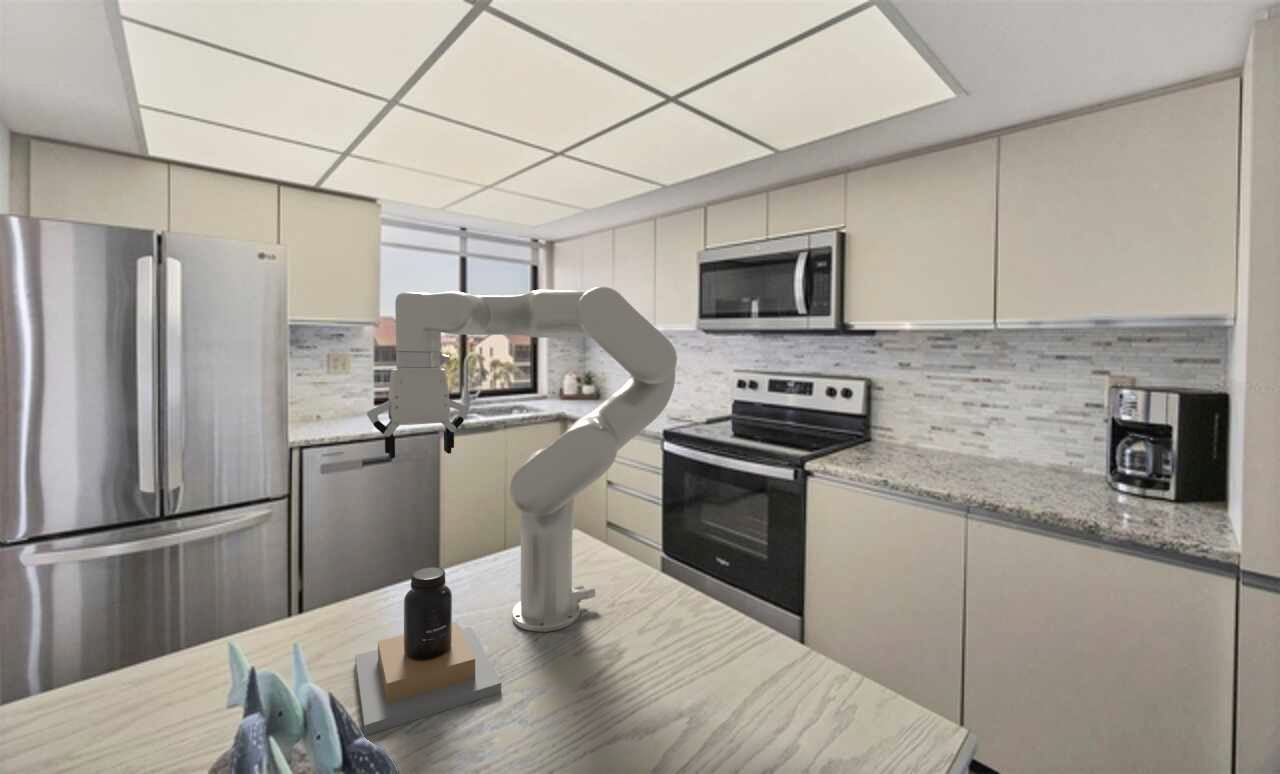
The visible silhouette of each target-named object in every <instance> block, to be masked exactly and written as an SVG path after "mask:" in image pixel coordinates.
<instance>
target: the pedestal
mask: <svg viewBox="0 0 1280 774" xmlns="http://www.w3.org/2000/svg"><path fill="white" fill-rule="evenodd" d="M460 627H461V626H459V624H458V622H457V621H456V622H452V641H451V646H450V648H449V649H448V650H447V651H446V652H445V653H444V654H442V655H441V656H439V657H436V658H433V659H428V660H415V659H411V658H409V657H408V656H407V655H406V654H405V652H404V634H401V635H397V636H394V637H389V638H385V639H382V640H377V649H374V650H369V651H366V652H362V653H358V654H355V655H354V656H355V657H354V659H355V660H354V661H355V671H356V679H357V684H358V685H357V686H358V693H359V700H360V709H361V717H362V722H363V723H362V724H363V733H364V736H365V737H367V736H369V735H373V734H376V733H378V732H382V731H385V730H388V729H391V728H394V727H397V726H401V725H404V724H407V723H410V722H413V721H416V720H419V719H422V718H425V717H429V716H431V715H436V714H438V713H440V712H444V711H447V710H450V709H454V708H458V707H459V706H463V705H466V704H469V703H472V702H475V701H479V700H482V699H485V698H488V697H491V696H495V695H497V694H501V693H502V682H501V680H500V678H499V676H498V674H497V673H496V670H495V669H494V667H493V665H492V663H491V661H490V659H489V657H488V655H487V654H486V652H485V650H484V649H483V646H482V644H481V643H480V641H479V639H478V638H477V637H478V636H477V635H476V633H475V631H474V629H473V628H472V626H471V625H470V626H467V627H463V628H460Z"/></svg>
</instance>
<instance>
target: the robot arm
mask: <svg viewBox="0 0 1280 774" xmlns="http://www.w3.org/2000/svg"><path fill="white" fill-rule="evenodd" d="M394 303H395V350H396V351H395V355H396V356H395V357H396V358H395V359H396V368H392V369H391V371H390V375H389V376H390V377H389V383H388V384H389V385H388V400H386V401H385V402H383V403H382V404H380V405H377V406H375V407H374V408H372V409H370V410H368V411H367V412H366V415H367V417H368V419H369V420H370V422H371V424H372V425H373V427H374V428H375V429H376V430H378V431H379V432H380V433H381V434H382V435H384V453H385V454H388V457H389V458H390V459H391V460H392V459H396V437H395V435H394V432H395V431H396V430H397V428H398V427H399V426H412V425H413V426H414V425H428V424H442V425H443V426H444V428H445V430H444V431H443V450H444V452H445V454H446V453H447V454H450V455H451V454H452V449H454V448H455V433H456V431H457V429H459V427H460V426H461V425H462V424H463V423H464V421H465V418H466V417H467V414H468V413H469V410H470V409H469V407H468V406H466V405H463V404H461V403H459V402H457V401H454V400H452V399H450V395H449V394H450V393H449V392H450V391H449V384H448V378H447V374H446V369H444V368H442V367H443V365H444V364H445V363H450V355H449V354H448V355H446V354H443V352H442V333H444V334H449V335H459V336H460V335H461V336H462V335H469V336H470V335H472V336H475V335H477V336H479V335H480V336H485V335H487V336H494V335H495V336H499V335H500V336H501V335H503V336H506V335H507V336H525V337H530V338H542V339H544V338H546V339H547V338H550V339H551V338H556V339H557V338H565V339H567V338H570V339H571V338H575V339H576V338H578V339H579V338H581V339H582V338H585V339H586V338H587V339H588V338H589V339H593V341H594V342H595V343H596V344H597V345H598V346H599V347H601V349H603V350H604V351H605V352H606V354H608V355H609V356H610V358H611V357H612V359H614V360H615V362H617V363H618V364H619V365H620V366H621V367H622V368H623V369H624V370H625V371H627V372H628V373H629V374H630V376H629V377H628V380H627V381H626V382H625V384H624V385H623V386H621V387H620V388H619V389H618V390H616V391H615V392H614V393H613V394H612V395H610V397H608V398H607V399H606V400H605V401H604V402H602V403H600V405H597V407H596V408H595V409H592V410H591V411H590V412H589V413H587V414H586V415H584V416H583V417H580V418H579V419H577V420H576V421H575V422H574V423H572V424H571V426H570V427H569V428H568V429H567V430H566V431H565V432H564V433H562V434H561V435H560V436H559V437H557V438H556V439H555V440H554V441H553V442H551V443H549V444H548V445H547V446H546V447H545V448H541V449H539V450H537V451H535V452H533V453H532V454H531V455H529V456H528V457H527V458H526V459H525V461H523V462H522V464H521V465H520V466H519V467H518V468H517V469H516V471H515V472H514V474H513V476H512V478H511V481H510V484H509V485H510V486H509V495H510V499H511V502H512V504H513V505H514V507H515V508H516V509H517V510H518V511H519V512H521V514H520V601H518V603H516V604H515V605H514V606H513V608H512V611H511V619H512V622H513V623H514V624H515V625H516V626H517V627H519V628H521V629H522V630H527V631H530V632H539V633H541V632H545V633H546V632H553V631H558V630H561V629H564V628H567V627H568V626H571V625H573V624H574V623H575V622H576V621H577V620H578V619H579V617H580V611H581V609H580V604H579V603H581V602H582V601H584V600H588V599H592V598H595V597H596V589H595V587H593V586H591V587H587V588H584V585H583V584H579V585H576V586H573V535H574V534H573V533H574V532H573V529H574V527H573V526H574V521H573V520H574V519H573V518H574V501H575V497H577V496H578V495H579V494H580V493H582V492H583V491H585V490H586V489H587V488H588V487H590V486H591V485H592V484H593V483H595V482H596V481H597V480H598V479H600V478H601V477H602V476H603V475H605V473H607V471H608V470H609V469H610V468H611V467H612V466H613V464H614V462H615V461H616V458H617V454H618V452H619V451H620V450H621V449H622V448H623V447H624V446H625V445H626V444H627V443H629V442H630V441H631V440H633V439H634V438H635V437H637V436H638V435H639V434H640V433H641V432H643V430H644V429H646V428H648V426H649V425H650V424H652V423H653V422H654V421H655V420H656V419H657V418H658V417H660V415H661V414H662V413H663V411H664V410H665V409H666V406H667V405H668V403H669V401H670V400H671V396H672V394H673V392H674V388H675V383H676V368H677V364H678V363H677V361H678V357H677V351H676V349H675V347H674V345H673V343H672V342H671V341H670V340H669V339H668V338H667V337H666V336H665V335H664V334H663V333H661V332H660V331H659V329H657V328H656V327H655V326H654V325H653V324H652V323H651V322H650V321H649V320H648V319H646V318H645V317H644V316H643V315H642V314H641V313H640V312H638V310H637V309H636V308H634V306H632V305H631V304H630V302H629V301H627V300H626V299H625V297H624V296H622V294H621V293H620V292H619V291H617V290H616V289H614V288H611V287H607V286H596V287H594V288H591V289H580V290H577V289H576V290H575V289H573V290H572V289H571V290H570V289H569V290H568V289H567V290H565V289H563V290H562V289H561V290H560V289H558V290H557V289H536V290H531V291H529V292H526V293H524V294H519V295H518V294H517V295H475V294H474V295H473V294H471V293H466V292H461V291H445V292H444V291H443V292H437V293H436V292H435V293H429V292H420V291H419V292H418V291H417V292H416V291H415V292H414V291H407V292H406V291H405V292H400V293H399V294H398V295H397V296H396V297H395V302H394ZM451 408H452V409H454V410H456V411H458V413H457V415H456V417H455V418H454V419H453V420H452V421H451V420H450V416H451ZM385 412H388V413H387V414H388V418H389V420H390V421H389V422H388V423H387V424H386V425H385V424H384V423H382V422H381V421H380V419H379V415H380V414H383V413H385Z"/></svg>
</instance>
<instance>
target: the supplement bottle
mask: <svg viewBox="0 0 1280 774" xmlns="http://www.w3.org/2000/svg"><path fill="white" fill-rule="evenodd" d="M410 580H411V581H410V590H408V591H407V593H406V594H405V596H404V598H403V635H404V652H405V654H406V655H407V656H408V657H409V658H411V659H415V660H428V659H433V658H436V657H439V656H441V655H442V654H444V653H445V652H446V651H447V650H448V649H449V648H450V646H451V641H452V623H453V593H452V591H451V589H450V587H449V586H447V585H446V571H445V569H444V568H442V567H439V566H438V567H437V566H430V567H429V566H426V567H421V568H420V569H417V570H415V571H413V572H412V574H411V578H410Z"/></svg>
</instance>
